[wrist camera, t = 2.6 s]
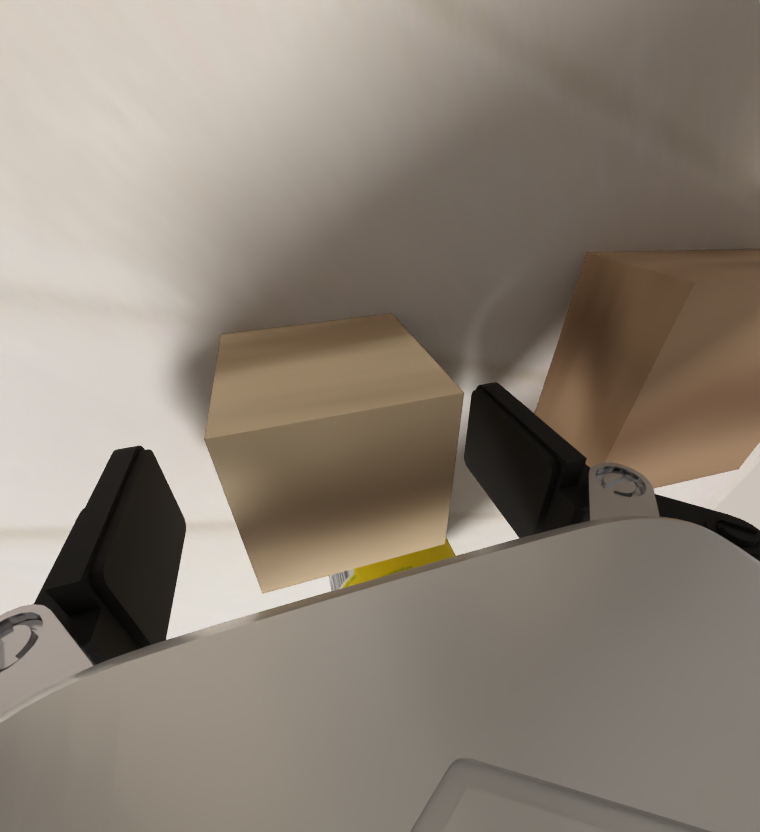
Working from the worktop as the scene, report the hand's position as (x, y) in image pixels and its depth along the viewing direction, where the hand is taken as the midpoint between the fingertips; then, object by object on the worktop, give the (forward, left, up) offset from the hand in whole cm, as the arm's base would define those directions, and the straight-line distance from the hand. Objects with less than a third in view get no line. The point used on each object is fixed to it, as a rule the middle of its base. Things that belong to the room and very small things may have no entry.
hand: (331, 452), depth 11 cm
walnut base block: (0, +13, -2) cm, 13 cm away
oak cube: (-1, 0, -2) cm, 2 cm away
